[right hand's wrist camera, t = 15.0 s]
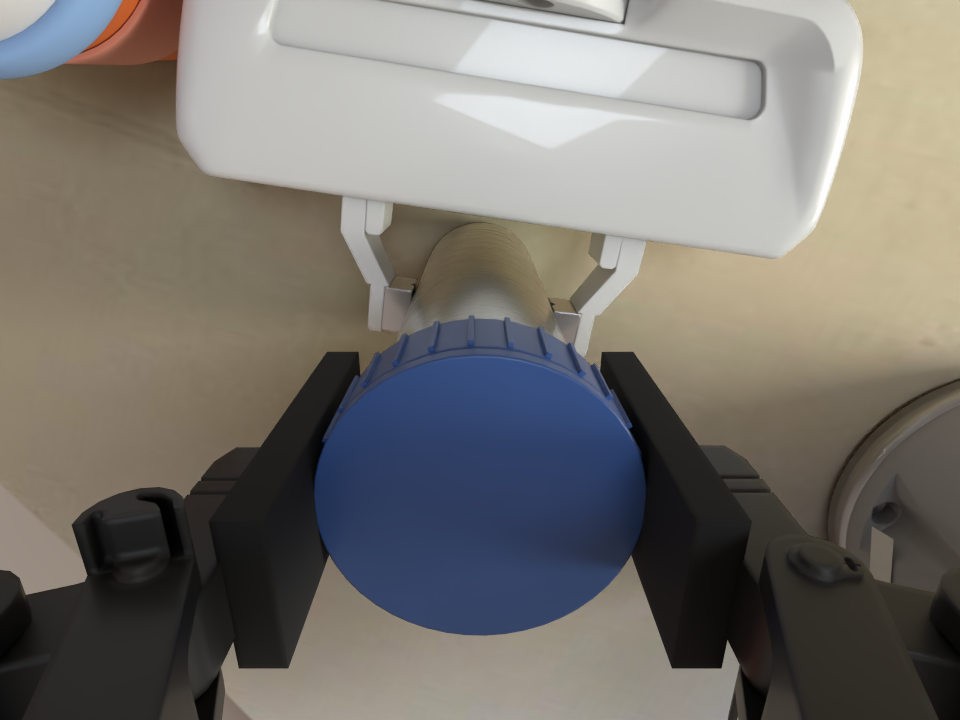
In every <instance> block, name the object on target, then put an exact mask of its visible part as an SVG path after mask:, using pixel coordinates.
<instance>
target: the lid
mask: <svg viewBox="0 0 960 720" xmlns="http://www.w3.org/2000/svg"><path fill="white" fill-rule="evenodd" d="M631 427H632V425H631V423H630V421H629V419H628V417H627V415H626V413H625V411H624V409H623V407H622V406H621V404H620V402H619V400H618V398H617V396H616V394H615V392H614V390H613V389H612V390H609V388H608V386H607V384H606V382H605V380H604V378H603V376H602V374H601V372H600V370H599V368H598V367H597V365H596V364H595V363H594V364H593V365H592V366H591V365H590V364H589V363H588V362H587V361H586V360H585V358H584V357H582V356H581V355H580V354H579V353H577V351H576V349H575V347H574V345H573V344H572V343H571V342H569V343H568V344H565V343H564V342H562V341H560V340H559V339H557V338H555V337H554V336H552V335H550V334H547V333H545V330H544V328H543V327H540V326H539V327H538V329H536V328H533V327H530V326H526V325H523V324H520V323H516V322H511V321H510V318H508V317H505V318H504V320H498V319H475V317H474V315H469V319H464V320H454V321H450V322H445V323H441V324H440V322H439V320H438V321H435V322H434V323H433V326H430V327H428V328H425V329H422V330H419V331H417V332H415V333H413V334H411V335H409V336H408V335H407V333H405V334H403V335H401V338H400V340H399V341H398V342H396V343H395V344H394V345H392V346H391V347H389V348H388V349H386V350H385V351H384V352H383V353H381V354H380V353H379V352H377V353H376V354H374V356H373V359H372V361H371V363H370V365H369V366H368V367H367V368H366V370H365V371H364V372H363V373H362V375H361V376H360V377H358V376H357V375H356V376H355V377H354V379H353V381H352V383H351V385H350V387H349V388H348V390H347V392H346V394H345V396H344V398H343V400H342V402H341V404H340V406H339V408H338V410H337V412H336V414H335V416H334V417H333V419H332V421H331V423H330V425H329V427H328V429H327V431H326V433H325V435H324V437H323V439H322V442H324V443H325V444H324V447H323V449H322V452H321V454H320V457H319V460H318V464H317V469H316V473H315V478H314V499H315V507H316V515H317V523H318V529H319V533H320V535H321V538H322V540H323V542H324V545H325V547H326V550H327V551H328V553H329V555H330V556H331V558H332V560H333V562H334V563H335V565H336V566H337V568H338V569H339V570H340V571H341V573H342V574H343V575H344V576H345V578H346V579H347V580H348V581H349V582H350V583H351V584H352V585H353V586H354V587H355V588H356V589H357V590H358V591H359V592H360V593H361V594H363V595H364V596H365V597H366V598H368V599H369V600H370V601H372V602H373V603H374V604H376V605H377V606H379V607H381V608H382V609H384V610H386V611H387V612H389V613H391V614H392V615H395V616H397V617H399V618H401V619H403V620H406V621H408V622H410V623H413V624H416V625H419V626H422V627H425V628H428V629H433V630H437V631H442V632H446V633H454V634H462V635H497V634H507V633H513V632H519V631H524V630H528V629H531V628H535V627H538V626H542V625H545V624H547V623H550V622H552V621H554V620H557V619H559V618H562V617H564V616H565V615H567V614H569V613H571V612H573V611H575V610H577V609H578V608H580V607H581V606H583V605H584V604H586V603H587V602H589V601H590V600H591V599H593V598H594V597H595V596H596V595H598V594H599V593H600V592H601V591H602V590H603V589H604V588H606V587H607V586H608V585H609V583H610V582H611V581H612V580H613V579H614V578H615V577H616V576H617V574H618V573H619V572H620V571H621V569H622V568H623V566H624V565H625V563H626V562H627V560H628V559H629V557H630V556H631V554H632V552H633V550H634V547H635V545H636V543H637V541H638V539H639V536H640V533H641V529H642V525H643V517H644V510H645V501H646V492H647V484H646V477H645V471H644V466H643V463H642V459H641V458H642V453H641V451H640V449H639V447H638V445H637V443H636V441H635V439H634V437H633V435H632V433H631V431H630V429H629V428H631Z"/></svg>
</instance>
